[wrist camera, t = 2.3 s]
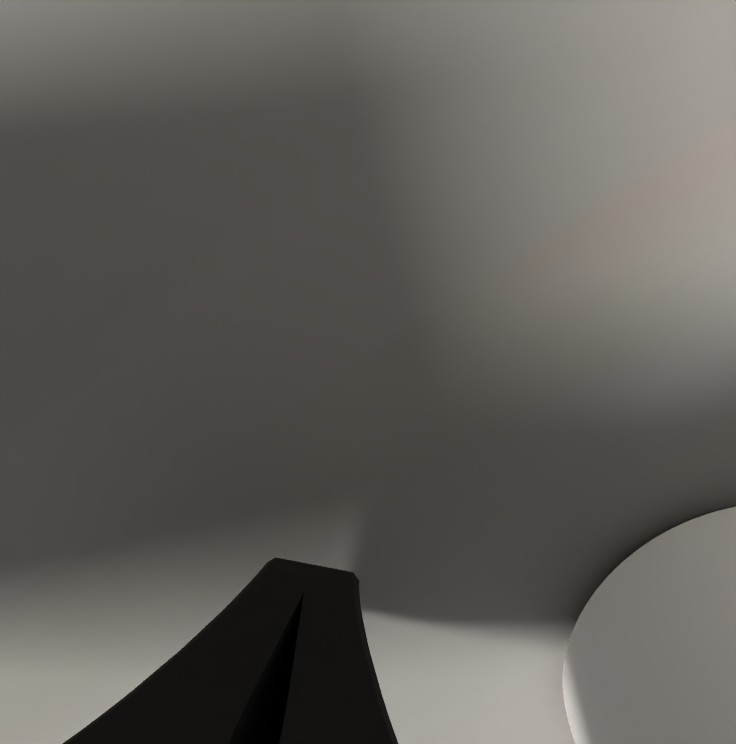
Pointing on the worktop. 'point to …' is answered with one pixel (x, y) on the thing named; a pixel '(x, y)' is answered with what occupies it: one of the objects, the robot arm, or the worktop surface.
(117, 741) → the robot arm
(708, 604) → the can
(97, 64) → the worktop surface
